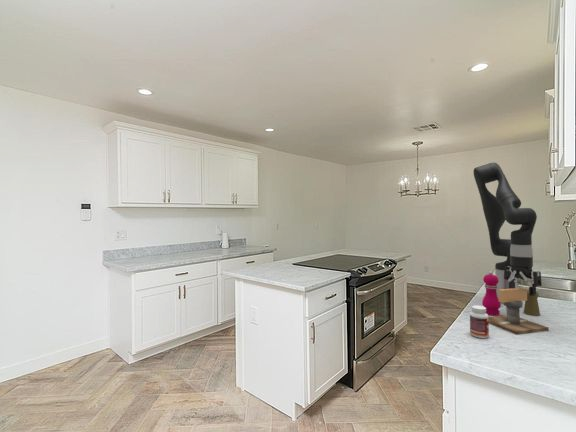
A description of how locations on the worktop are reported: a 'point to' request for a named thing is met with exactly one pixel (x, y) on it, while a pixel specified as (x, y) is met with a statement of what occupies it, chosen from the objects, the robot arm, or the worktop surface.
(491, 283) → the pepper mill
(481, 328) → the pill bottle
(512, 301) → the tan long piece
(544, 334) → the worktop surface
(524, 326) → the square stand base
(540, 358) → the worktop surface
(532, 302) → the cork
